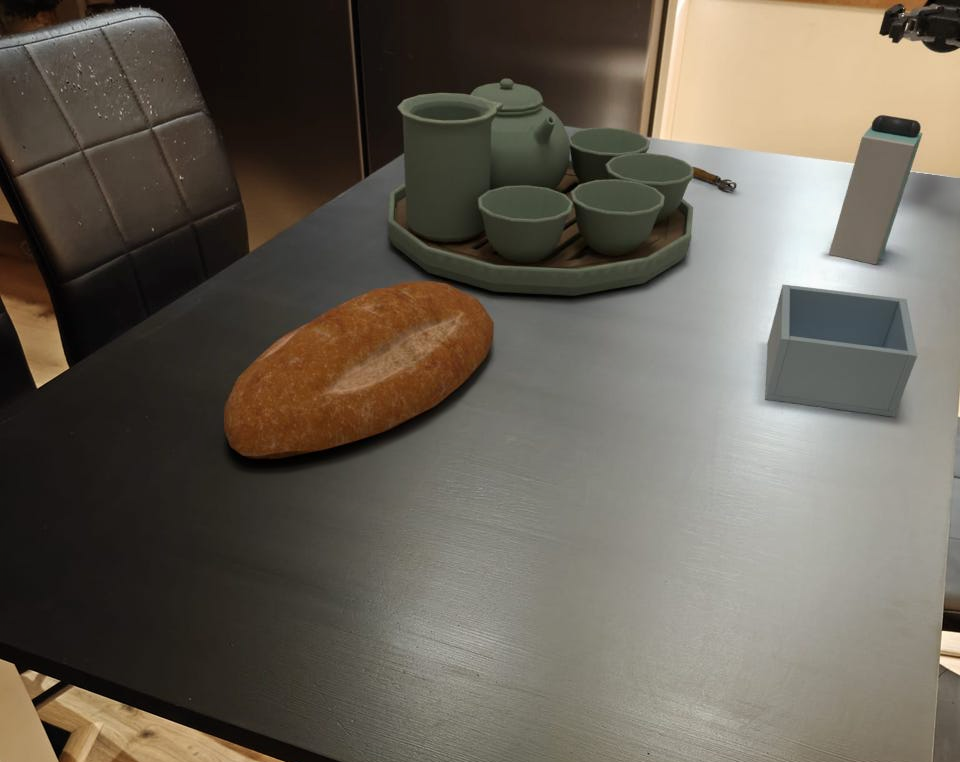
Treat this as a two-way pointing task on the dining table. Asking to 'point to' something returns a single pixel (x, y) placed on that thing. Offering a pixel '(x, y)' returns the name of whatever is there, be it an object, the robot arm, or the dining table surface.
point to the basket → (840, 350)
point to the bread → (358, 370)
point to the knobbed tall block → (876, 188)
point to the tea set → (533, 197)
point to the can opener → (713, 179)
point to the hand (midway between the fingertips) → (933, 38)
